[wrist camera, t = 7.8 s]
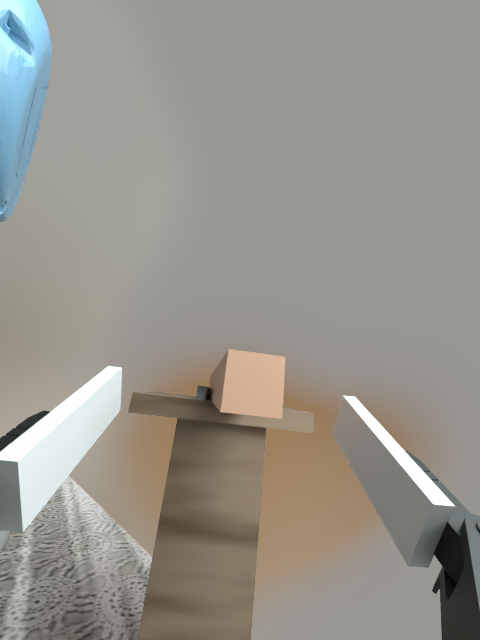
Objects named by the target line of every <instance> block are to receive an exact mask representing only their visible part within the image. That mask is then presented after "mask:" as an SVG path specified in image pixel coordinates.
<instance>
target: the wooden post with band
mask: <svg viewBox="0 0 480 640" xmlns="http://www.w3.org/2000/svg"><path fill="white" fill-rule="evenodd" d="M209 391H210V388H209V387H204V386H198V389H197V395H196V396H188V395H180V394H171V393H162V392H136V393H135V392H133V394H132V399H131V402H130V407H129V411H128V412H130V413H139V414H149V415H157V416H166V417H175V418H178V419H177V424H176V430H175V436H174V441H173V446H172V452H171V458H170V463H169V469H168V474H167V480H166V486H165V491H164V497H163V503H162V508H161V513H160V519H159V524H158V530H157V535H156V541H155V547H154V552H153V558H152V563H151V569H150V574H149V580H148V585H147V591H146V597H145V602H144V608H143V613H142V619H141V624H140V630H139V636H138V640H251V626H252V613H253V599H254V585H255V572H256V559H257V545H258V532H259V517H260V505H261V491H262V478H263V463H264V450H265V437H266V428H274V429H282V430H291V431H300V432H309V433H313V421H314V420H313V419H314V414H313V413H309V412H304V411H300V410H296V409H291V408H287V407H283V411H282V419H278V418H269V417H260V416H251V415H242V414H233V413H224V412H220V411H219V410H218V409H217V407H216V406H215V405H214V404H213V403H212V401H211V400H210V399H209Z"/></svg>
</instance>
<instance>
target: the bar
mask: <svg viewBox="0 0 480 640" xmlns="http://www.w3.org/2000/svg"><path fill="white" fill-rule="evenodd" d="M284 374H285V357H282V356H275V355H268V354H260V353H253V352H246V351H239V350H232V349H228V351H227V352H226V354H225V355H224V357H223V358H222V360H221V361H220V363H219V364H218V366H217V368H216V369H215V370H214V372H213V373H212V375H211V379H210V385H209V388H210V391H209V399H210V400H211V401H212V403H213V404H214V405H215V406H216V407H217V409H218V410H219V411H220V412H224V413H233V414H242V415H251V416H260V417H269V418H278V419H282V411H283V392H284Z"/></svg>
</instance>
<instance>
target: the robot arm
mask: <svg viewBox="0 0 480 640" xmlns="http://www.w3.org/2000/svg"><path fill="white" fill-rule="evenodd" d="M50 66H51V41H50V35H49V30H48V26H47V24H46V20H45V18H44V16H43V13H42V11H41V9H40V7H39V5H38V3H37V1H36V0H0V222H2V221H5V220H6V219H7V218H8V217H9V216H10V215H11V213H12V211H13V209H14V206H15V204H16V202H17V200H18V197H19V194H20V192H21V189H22V184H23V181H24V178H25V174H26V170H27V168H28V166H29V163H30V160H31V157H32V153H33V149H34V145H35V142H36V138H37V134H38V130H39V126H40V121H41V117H42V112H43V108H44V102H45V98H46V92H47V87H48V81H49V75H50ZM121 379H122V368H120V367H112V366H108V367H107V368H105V369H104V370H103V371H101V372H100V373H99V374H98V375H97V376H95V377H94V378H93V379H91V380H90V381H89V382H88V383H86V384H85V385H84V386H83V387H81V388H80V389H79V390H77V391H76V392H75V393H74V394H73V395H71V396H70V397H69V398H67V399H66V400H65V401H64V402H62V403H61V404H60V405H59V406H57V407H56V408H55V409H54V410H52V411H51V412H49V411H42V412H40V413H38V414H35V415H33V416H31V417H29V418H27V419H26V420H24V421H23V422H22V423H21V424H19V425H18V426H17V427H16V428H14V429H12V430H11V431H9V432H8V433H7V434H6V436H3V437H1V438H0V531H12V532H24V531H25V529H26V528H27V527H28V526H29V524H30V523H31V522H32V521H33V519H34V518H35V517H36V516H37V514H38V513H39V512H40V510H41V509H42V508H43V507H44V505H45V504H46V503H47V502H48V500H49V499H50V498H51V497H52V495H53V494H54V493H55V492H56V490H57V489H58V488H59V487H60V485H61V484H62V483H63V482H64V480H65V479H66V478H67V477H68V475H69V474H70V473H71V471H72V470H73V469H74V468H75V466H76V465H77V464H78V463H79V461H80V460H81V459H82V458H83V456H84V455H85V454H86V453H87V451H88V450H89V448H91V446H92V445H93V444H94V443H95V441H96V440H97V439H98V437H99V436H100V435H101V434H102V432H103V431H104V430H105V429H106V427H107V426H108V425H109V423H110V422H111V421H112V420H113V419H114V417H115V416H116V415H117V414H118V412H119V411H120V405H121V404H120V403H121ZM332 435H333V437H334V439H335V440H336V442H337V444H338V445H339V447H340V449H341V451H342V452H343V454H344V456H345V458H346V459H347V461H348V463H349V465H350V466H351V468H352V470H353V471H354V473H355V475H356V477H357V478H358V480H359V482H360V484H361V485H362V487H363V489H364V491H365V492H366V494H367V496H368V498H369V499H370V501H371V503H372V504H373V506H374V508H375V510H376V511H377V513H378V515H379V517H380V518H381V520H382V522H383V524H384V525H385V527H386V529H387V530H388V532H389V534H390V536H391V538H392V539H393V541H394V543H395V544H396V546H397V548H398V549H399V551H400V553H401V555H402V556H403V558H404V560H405V562H406V563H407V565H408V566H416V567H426V568H428V567H429V565H430V562H431V560H432V558H433V556H434V555H435V556H436V558H437V559H438V561H439V562H440V563H441V565H442V566H443V567H442V569H441V571H440V573H439V575H438V578H437V580H436V582H435V584H434V587H433V590H432V591H433V592H434V593H435V594H436V593H437V591H438V589H440V601H441V624H442V625H441V626H442V640H480V516H478V515H474V514H471V513H470V512H469V511H468V510H467V509H466V508H465V507H464V506H463V505H462V504H461V503H460V502H459V501H458V500H457V499H456V498H455V496H454V495H453V494H452V493H451V492H450V491H449V490H448V489H447V488H446V487H445V486H444V485H443V484H442V483H441V482H439V481H438V479H437V478H436V476H435V475H434V474H433V473H431V472H430V470H429V469H428V468H427V467H426V466H425V465H424V464H423V463H422V462H421V461H420V460H419V459H417V458H416V457H414V456H413V455H412V454H411V453H409V452H408V451H404V450H403V449H402V448H401V447H400V446H399V444H398V443H397V442H396V441H395V440H394V439H393V438H392V437H391V436H390V435H389V434H388V433H387V431H386V430H385V429H384V428H383V427H382V426H381V425H380V424H379V423H378V421H377V420H376V419H375V418H374V417H373V416H372V415H371V414H370V413H369V412H368V411H367V409H366V408H365V407H364V406H363V405H362V404H361V403H360V402H359V401H358V400H357V399H356V397H351V396H343V397H342V401H341V405H340V408H339V412H338V415H337V419H336V423H335V427H334V430H333V434H332Z"/></svg>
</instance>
